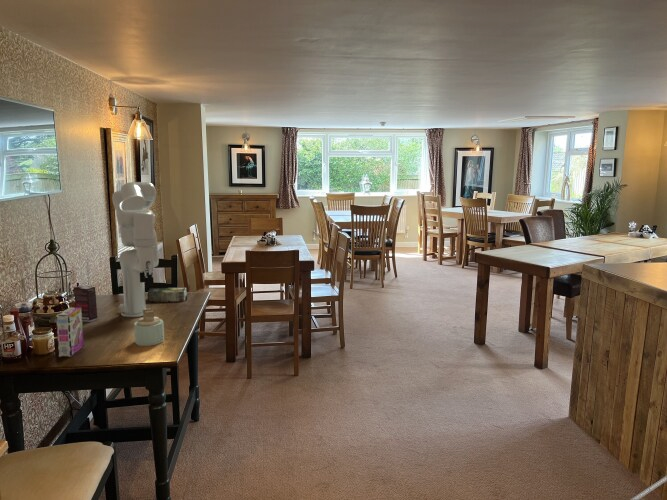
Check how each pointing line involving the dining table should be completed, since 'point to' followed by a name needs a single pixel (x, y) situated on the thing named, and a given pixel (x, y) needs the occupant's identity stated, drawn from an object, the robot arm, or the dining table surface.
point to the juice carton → (167, 294)
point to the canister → (149, 334)
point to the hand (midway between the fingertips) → (146, 284)
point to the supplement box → (86, 302)
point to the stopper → (148, 318)
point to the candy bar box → (69, 332)
